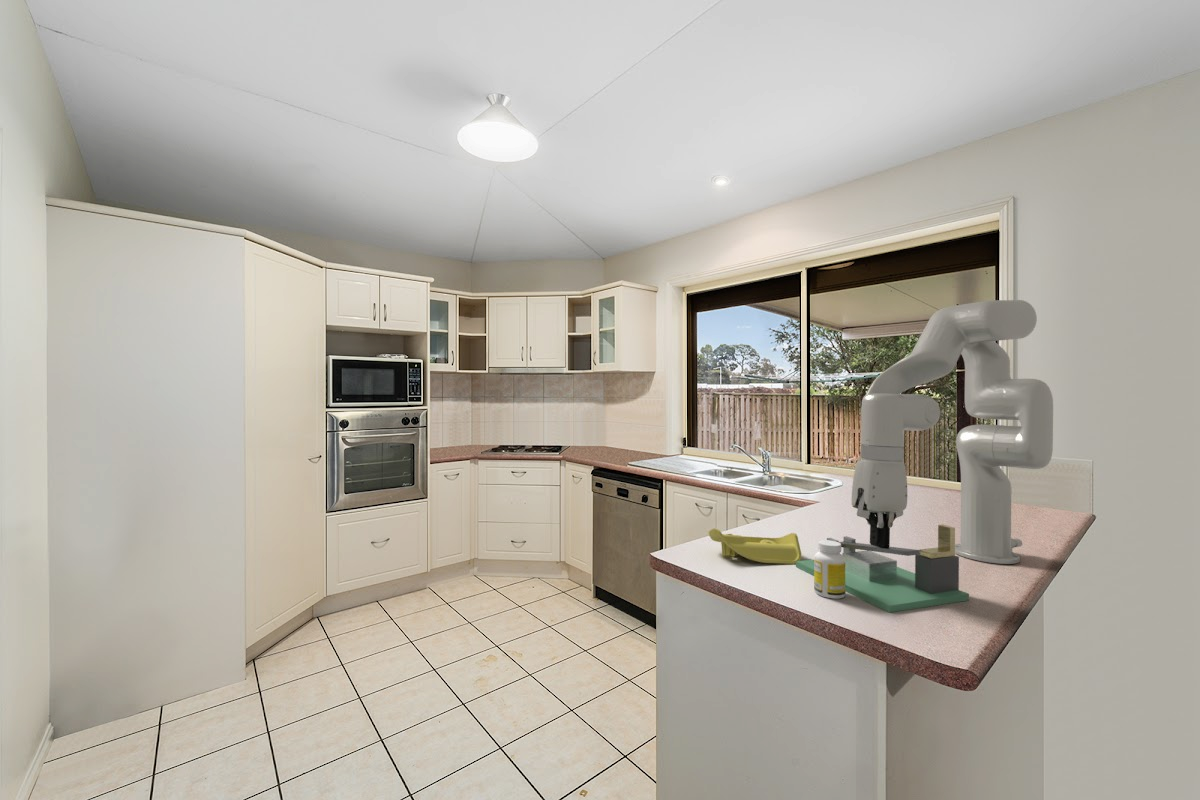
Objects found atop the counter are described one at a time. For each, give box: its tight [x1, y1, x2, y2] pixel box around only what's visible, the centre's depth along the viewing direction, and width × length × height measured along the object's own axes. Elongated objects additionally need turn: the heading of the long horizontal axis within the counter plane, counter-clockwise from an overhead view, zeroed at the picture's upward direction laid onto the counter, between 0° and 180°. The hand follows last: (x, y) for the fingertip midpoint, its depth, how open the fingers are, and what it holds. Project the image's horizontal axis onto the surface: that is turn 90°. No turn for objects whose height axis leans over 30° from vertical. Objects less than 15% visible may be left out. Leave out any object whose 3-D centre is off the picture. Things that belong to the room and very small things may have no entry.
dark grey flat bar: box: [839, 541, 920, 557], centre depth 99 cm, size 3×18×1 cm, turn 17°
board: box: [795, 535, 970, 613], centre depth 98 cm, size 19×24×6 cm
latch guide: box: [914, 555, 960, 594], centre depth 92 cm, size 7×3×6 cm, turn 107°
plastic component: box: [707, 527, 802, 565], centre depth 114 cm, size 20×7×10 cm
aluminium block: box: [841, 550, 898, 581], centre depth 100 cm, size 7×7×4 cm
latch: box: [918, 524, 956, 559], centre depth 92 cm, size 6×2×5 cm, turn 107°
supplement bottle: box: [813, 539, 846, 600], centre depth 92 cm, size 5×5×10 cm
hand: (879, 545), depth 96 cm, fingers closed
